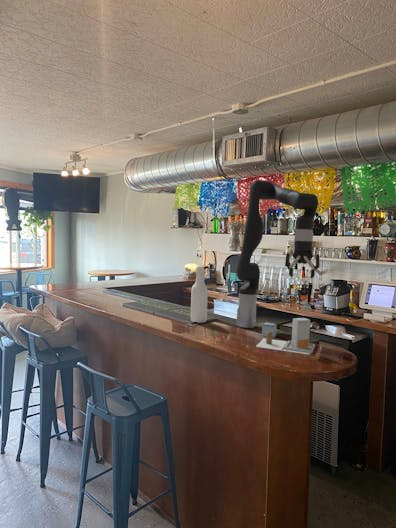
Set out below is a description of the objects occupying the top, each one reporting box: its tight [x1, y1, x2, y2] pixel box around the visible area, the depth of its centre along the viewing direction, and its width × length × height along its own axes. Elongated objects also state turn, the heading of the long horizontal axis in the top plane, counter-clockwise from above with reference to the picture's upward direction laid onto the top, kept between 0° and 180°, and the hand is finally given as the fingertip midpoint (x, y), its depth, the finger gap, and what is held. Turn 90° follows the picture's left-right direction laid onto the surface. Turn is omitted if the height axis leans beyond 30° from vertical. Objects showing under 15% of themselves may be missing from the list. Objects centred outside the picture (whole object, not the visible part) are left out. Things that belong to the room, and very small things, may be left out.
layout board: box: [255, 331, 316, 356], centre depth 168 cm, size 23×15×6 cm, turn 67°
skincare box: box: [290, 317, 311, 348], centre depth 165 cm, size 6×4×12 cm
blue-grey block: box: [261, 321, 278, 339], centre depth 184 cm, size 6×6×7 cm
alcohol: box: [190, 265, 209, 324], centre depth 214 cm, size 9×9×30 cm
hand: (301, 277), depth 172 cm, fingers open, 8 cm apart
